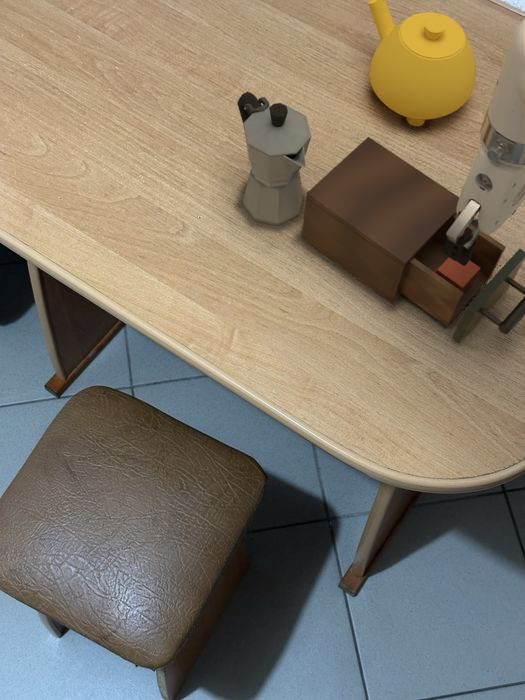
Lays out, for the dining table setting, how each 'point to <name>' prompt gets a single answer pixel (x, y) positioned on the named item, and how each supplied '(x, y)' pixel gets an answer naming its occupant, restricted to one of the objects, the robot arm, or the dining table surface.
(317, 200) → the cabinet
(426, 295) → the drawer
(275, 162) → the coffee maker
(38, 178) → the dining table surface
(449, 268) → the block
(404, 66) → the teapot
